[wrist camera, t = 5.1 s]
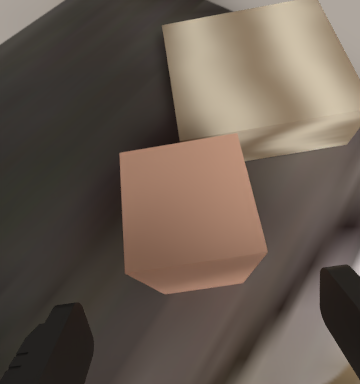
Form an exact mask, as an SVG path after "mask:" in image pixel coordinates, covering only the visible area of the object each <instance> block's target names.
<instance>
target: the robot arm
mask: <svg viewBox="0 0 360 384" xmlns="http://www.w3.org/2000/svg"><path fill="white" fill-rule="evenodd" d="M320 310H321V314H322V318H323V320H324V323H325V325H326V326H327V328H328V330H329V331H330V333H331V334H332V336H333V338H334V339H335V341H336V343H337V344H338V346H339V347H340V349H341V351H342V352H343V354H344V355H345V357H346V359H347V360H348V362H349V363H350V365H351V367H352V368H353V370H354V371H355V373H356V375H357V376H358V378H359V379H360V276H359V275H358V274H357V273H356V272H355V271H354V270H353V269H352V268H351V267H350V266H348V265H339V266H332V267H325V268H322V269H321V271H320ZM93 351H94V340H93V335H92V332H91V330H90V327H89V324H88V321H87V319H86V316H85V313H84V310H83V307H82V305H81V304H80V303H78V302H77V303H70V304H63V305H57V306H55V307H54V308H53V309H52V311H51V313H50V314H49V316H48V318H47V320H46V322H45V323H44V324H39V325H38V326H37V327H36V328H35V329H34V330H33V331H32V332H31V333H30V334H29V335H28V336H27V337H26V338H25V340H24V342H23V343H22V345H21V347H20V348H19V350H18V352H17V355H16V357H14V359H13V360H12V362H11V364H10V365H9V369H8V370H7V371H6V372H5V374H4V375H3V377H2V379H1V380H0V384H84V383H85V379H86V376H87V373H88V370H89V366H90V363H91V360H92V357H93Z"/></svg>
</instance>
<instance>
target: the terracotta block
mask: <svg viewBox="0 0 360 384" xmlns="http://www.w3.org/2000/svg"><path fill="white" fill-rule="evenodd" d="M119 154H120V176H121V197H122V219H123V240H124V262H125V274H127V275H129V276H131V277H133V278H134V279H136V280H138V281H140V282H142V283H144V284H146V285H148V286H150V287H152V288H153V289H155V290H157V291H159V292H161V293H163V294H171V293H178V292H185V291H192V290H199V289H205V288H212V287H219V286H226V285H233V284H240V283H244V281H245V280H246V279H247V278H248V276H249V275H250V274H251V273H252V271H253V270H254V269H255V268H256V266H257V265H258V264H259V263H260V261H261V260H262V259H263V258H264V256H265V255H266V254H267V253H268V250H267V246H266V242H265V238H264V235H263V231H262V227H261V223H260V219H259V215H258V211H257V207H256V204H255V200H254V196H253V192H252V188H251V184H250V180H249V176H248V173H247V169H246V165H245V161H244V157H243V153H242V149H241V146H240V142H239V138H238V134H237V133H234V134H228V135H222V136H216V137H210V138H205V139H199V140H193V141H187V142H181V143H175V144H169V145H163V146H157V147H151V148H146V149H140V150H134V151H128V152H122V153H119Z"/></svg>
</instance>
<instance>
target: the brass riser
mask: <svg viewBox="0 0 360 384" xmlns="http://www.w3.org/2000/svg"><path fill="white" fill-rule="evenodd" d="M162 28H163V35H164V41H165V48H166V54H167V61H168V67H169V74H170V80H171V87H172V93H173V100H174V106H175V113H176V119H177V126H178V133H179V139H180V143H181V142H187V141H193V140H199V139H205V138H210V137H216V136H222V135H228V134H234V133H237V134H238V138H239V142H240V146H241V149H242V153H243V157H244V161H250V160H256V159H262V158H268V157H274V156H280V155H286V154H292V153H298V152H304V151H310V150H316V149H323V148H329V147H335V146H341V145H347V144H348V142H349V141H350V140H351V138H352V137H353V136H354V134H355V133H356V132H357V130H358V129H359V128H360V79H359V77H358V75H357V74H356V72H355V70H354V68H353V66H352V64H351V62H350V60H349V58H348V57H347V55H346V53H345V51H344V49H343V47H342V45H341V44H340V41H339V39H338V37H337V36H336V34H335V32H334V30H333V28H332V26H331V24H330V22H329V20H328V19H327V17H326V15H325V13H324V11H323V9H322V7H321V5H320V3H319V1H318V0H294V1H289V2H283V3H278V4H273V5H268V6H262V7H257V8H252V9H247V10H241V11H236V12H230V13H225V14H220V15H214V16H209V17H204V18H198V19H193V20H188V21H182V22H177V23H172V24H167V25H162Z"/></svg>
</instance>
